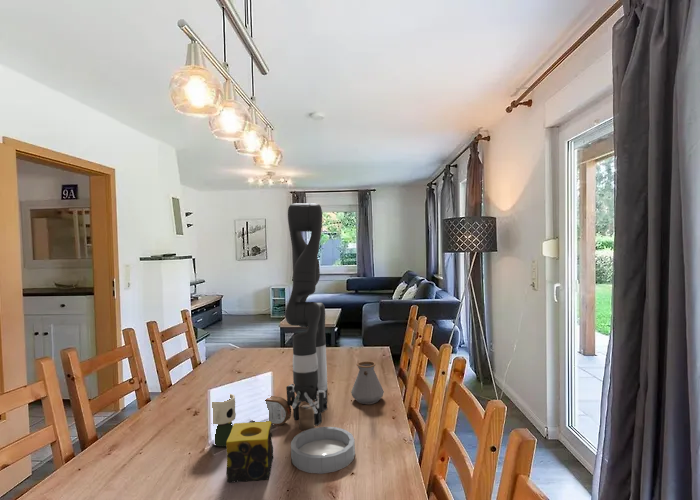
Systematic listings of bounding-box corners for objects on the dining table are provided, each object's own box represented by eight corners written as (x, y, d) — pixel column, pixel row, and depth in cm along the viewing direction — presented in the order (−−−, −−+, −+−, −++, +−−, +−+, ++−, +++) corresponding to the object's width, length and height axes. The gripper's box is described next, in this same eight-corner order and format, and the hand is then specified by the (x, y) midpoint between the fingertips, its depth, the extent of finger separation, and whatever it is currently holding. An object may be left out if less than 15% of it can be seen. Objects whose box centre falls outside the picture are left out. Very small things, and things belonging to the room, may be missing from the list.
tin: (292, 423, 125) (291, 396, 125) (287, 428, 122) (286, 400, 122) (250, 418, 130) (249, 392, 129) (245, 422, 127) (244, 396, 126)
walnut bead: (296, 428, 121) (295, 408, 121) (305, 422, 125) (305, 403, 125) (308, 432, 118) (307, 411, 118) (317, 425, 122) (316, 406, 122)
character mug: (229, 453, 108) (227, 405, 108) (203, 453, 108) (201, 405, 108) (242, 434, 119) (240, 390, 118) (218, 434, 119) (217, 391, 119)
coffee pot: (352, 394, 147) (351, 353, 147) (383, 393, 146) (382, 353, 146) (348, 419, 126) (346, 372, 126) (385, 419, 125) (383, 371, 125)
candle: (234, 460, 104) (233, 422, 104) (273, 457, 105) (272, 419, 105) (225, 484, 94) (224, 441, 94) (269, 480, 95) (267, 438, 94)
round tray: (278, 462, 102) (277, 447, 102) (316, 435, 116) (316, 422, 116) (331, 480, 94) (330, 464, 93) (365, 448, 107) (365, 434, 107)
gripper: (279, 368, 122) (281, 422, 122) (317, 374, 114) (319, 432, 114) (294, 362, 128) (296, 413, 128) (331, 367, 120) (334, 422, 120)
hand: (307, 422), depth 121 cm, fingers open, 7 cm apart
